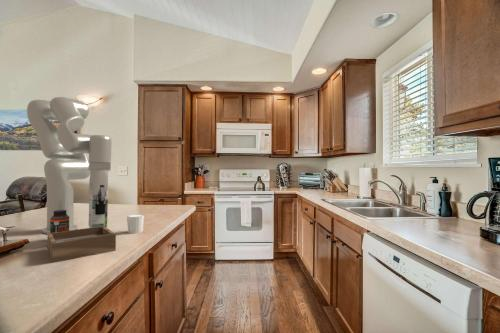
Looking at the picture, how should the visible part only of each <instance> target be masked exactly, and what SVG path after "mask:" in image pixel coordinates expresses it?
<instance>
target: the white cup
mask: <svg viewBox="0 0 500 333" xmlns="http://www.w3.org/2000/svg"><path fill="white" fill-rule="evenodd" d="M144 220H145V215H144V214H137V213H136V214H129V215H127V216H126V222H127V224H126V225H127V232H128V233H129V234H139V233H140V234H141V233H143V230H144V222H145V221H144Z"/></svg>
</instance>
